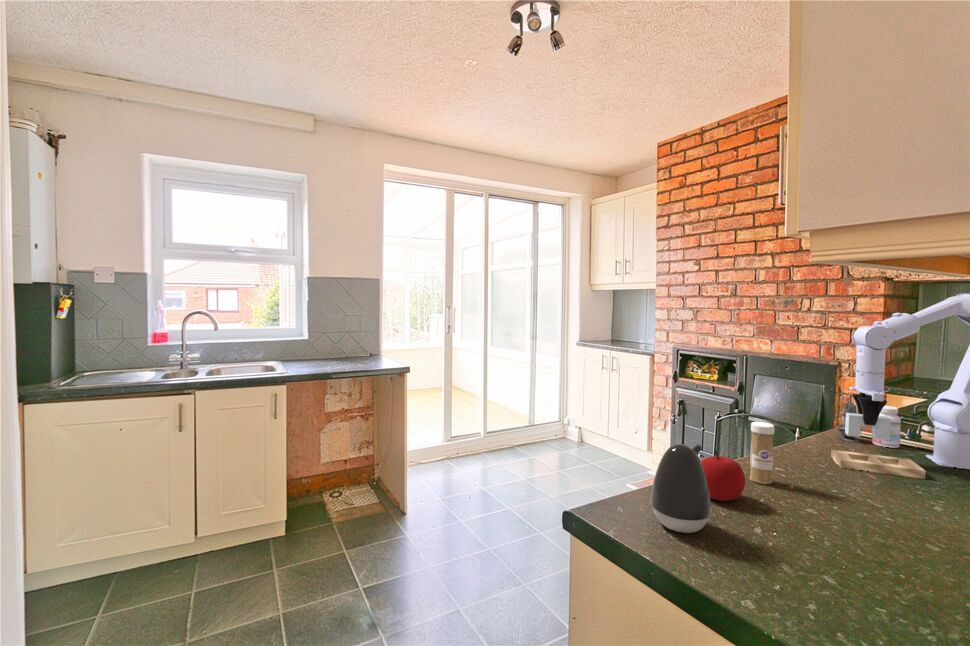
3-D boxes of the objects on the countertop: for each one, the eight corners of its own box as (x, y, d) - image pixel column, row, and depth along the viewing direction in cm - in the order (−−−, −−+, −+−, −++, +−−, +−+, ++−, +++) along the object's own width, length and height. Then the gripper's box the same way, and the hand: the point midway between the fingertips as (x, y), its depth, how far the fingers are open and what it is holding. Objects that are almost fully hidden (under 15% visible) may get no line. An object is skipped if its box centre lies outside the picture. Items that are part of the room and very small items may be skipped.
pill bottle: (867, 441, 135) (869, 404, 134) (892, 443, 133) (894, 405, 132) (878, 447, 129) (879, 408, 128) (904, 449, 127) (906, 410, 126)
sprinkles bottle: (756, 485, 102) (758, 426, 101) (745, 477, 106) (747, 420, 106) (777, 485, 102) (779, 426, 101) (764, 477, 106) (766, 421, 106)
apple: (721, 510, 89) (723, 460, 89) (685, 492, 98) (687, 447, 97) (754, 502, 93) (756, 454, 92) (717, 486, 101) (718, 442, 101)
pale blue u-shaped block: (885, 437, 118) (886, 416, 118) (889, 440, 115) (890, 419, 115) (845, 432, 122) (846, 412, 122) (848, 435, 119) (849, 415, 119)
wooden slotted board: (909, 466, 114) (909, 458, 114) (925, 479, 106) (925, 470, 105) (830, 456, 121) (831, 449, 120) (840, 468, 112) (840, 460, 112)
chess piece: (866, 442, 133) (868, 402, 132) (846, 442, 133) (848, 402, 133) (851, 436, 139) (852, 398, 138) (831, 436, 139) (833, 398, 138)
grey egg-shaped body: (723, 531, 81) (726, 448, 80) (686, 546, 76) (688, 457, 75) (675, 508, 90) (676, 433, 89) (638, 520, 85) (640, 441, 84)
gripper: (843, 367, 126) (841, 415, 127) (859, 374, 113) (856, 428, 114) (875, 369, 123) (873, 418, 124) (895, 376, 110) (892, 431, 111)
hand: (867, 423), depth 118 cm, fingers closed on pale blue u-shaped block, 3 cm apart
